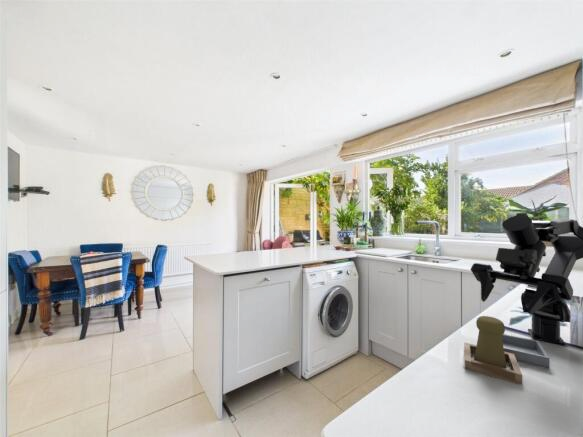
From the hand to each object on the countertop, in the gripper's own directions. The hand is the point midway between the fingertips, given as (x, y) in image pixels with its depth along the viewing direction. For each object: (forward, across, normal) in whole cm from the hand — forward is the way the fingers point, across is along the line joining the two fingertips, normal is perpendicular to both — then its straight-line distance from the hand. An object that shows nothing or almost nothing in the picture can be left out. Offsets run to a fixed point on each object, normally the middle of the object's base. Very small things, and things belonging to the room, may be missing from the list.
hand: (504, 306), depth 61 cm
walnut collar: (+13, 0, +4) cm, 14 cm away
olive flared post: (+14, 0, +5) cm, 14 cm away
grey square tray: (+5, 0, +13) cm, 14 cm away
